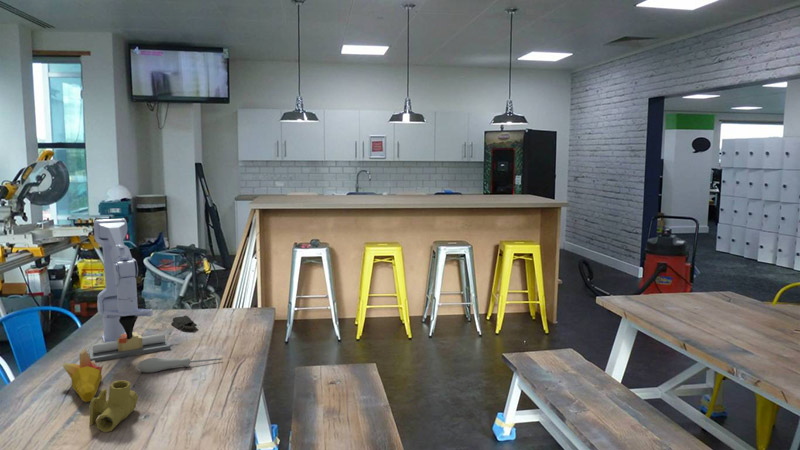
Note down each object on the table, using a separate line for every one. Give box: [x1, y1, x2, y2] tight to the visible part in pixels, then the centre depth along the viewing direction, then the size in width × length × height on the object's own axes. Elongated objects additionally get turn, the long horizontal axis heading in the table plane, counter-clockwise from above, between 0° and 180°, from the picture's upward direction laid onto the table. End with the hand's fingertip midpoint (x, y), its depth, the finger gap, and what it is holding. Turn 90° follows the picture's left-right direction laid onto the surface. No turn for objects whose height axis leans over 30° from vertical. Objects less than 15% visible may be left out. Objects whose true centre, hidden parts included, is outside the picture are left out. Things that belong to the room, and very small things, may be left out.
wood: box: [170, 315, 198, 333], centre depth 215 cm, size 22×8×3 cm, turn 34°
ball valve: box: [88, 379, 139, 433], centre depth 137 cm, size 13×10×10 cm
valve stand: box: [88, 331, 171, 363], centre depth 186 cm, size 10×24×6 cm, turn 122°
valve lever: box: [119, 330, 134, 343], centre depth 181 cm, size 12×3×2 cm, turn 16°
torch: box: [61, 346, 104, 403], centre depth 154 cm, size 8×8×25 cm
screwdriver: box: [137, 356, 223, 374], centre depth 172 cm, size 5×25×4 cm, turn 114°
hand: (129, 338), depth 178 cm, fingers closed, pressing on valve lever
